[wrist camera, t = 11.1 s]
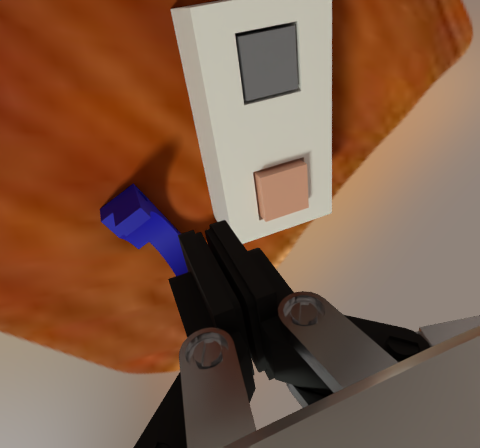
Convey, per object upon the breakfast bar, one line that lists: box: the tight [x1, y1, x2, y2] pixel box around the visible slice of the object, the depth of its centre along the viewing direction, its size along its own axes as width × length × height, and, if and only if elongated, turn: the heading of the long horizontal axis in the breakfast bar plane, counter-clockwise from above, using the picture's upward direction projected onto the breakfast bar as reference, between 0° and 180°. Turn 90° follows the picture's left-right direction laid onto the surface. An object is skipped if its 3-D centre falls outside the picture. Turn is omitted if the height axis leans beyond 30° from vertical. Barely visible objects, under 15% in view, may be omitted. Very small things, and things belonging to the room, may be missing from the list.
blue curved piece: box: [100, 183, 188, 276], centre depth 39 cm, size 12×4×6 cm, turn 32°
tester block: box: [171, 0, 332, 244], centre depth 36 cm, size 22×12×7 cm, turn 8°
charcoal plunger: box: [235, 25, 298, 101], centre depth 33 cm, size 5×5×6 cm
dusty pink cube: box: [253, 159, 309, 222], centre depth 39 cm, size 5×5×6 cm
